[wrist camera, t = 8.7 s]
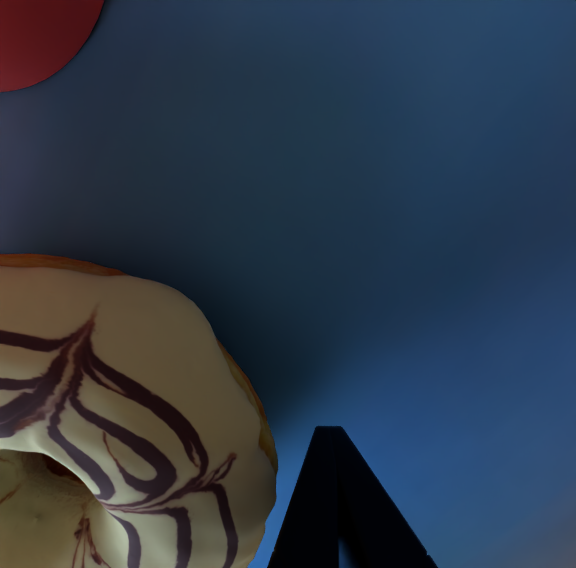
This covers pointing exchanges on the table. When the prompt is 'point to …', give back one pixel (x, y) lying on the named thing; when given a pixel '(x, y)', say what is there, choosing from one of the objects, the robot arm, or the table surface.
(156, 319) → the decorated donut
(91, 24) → the red can
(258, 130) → the table surface
